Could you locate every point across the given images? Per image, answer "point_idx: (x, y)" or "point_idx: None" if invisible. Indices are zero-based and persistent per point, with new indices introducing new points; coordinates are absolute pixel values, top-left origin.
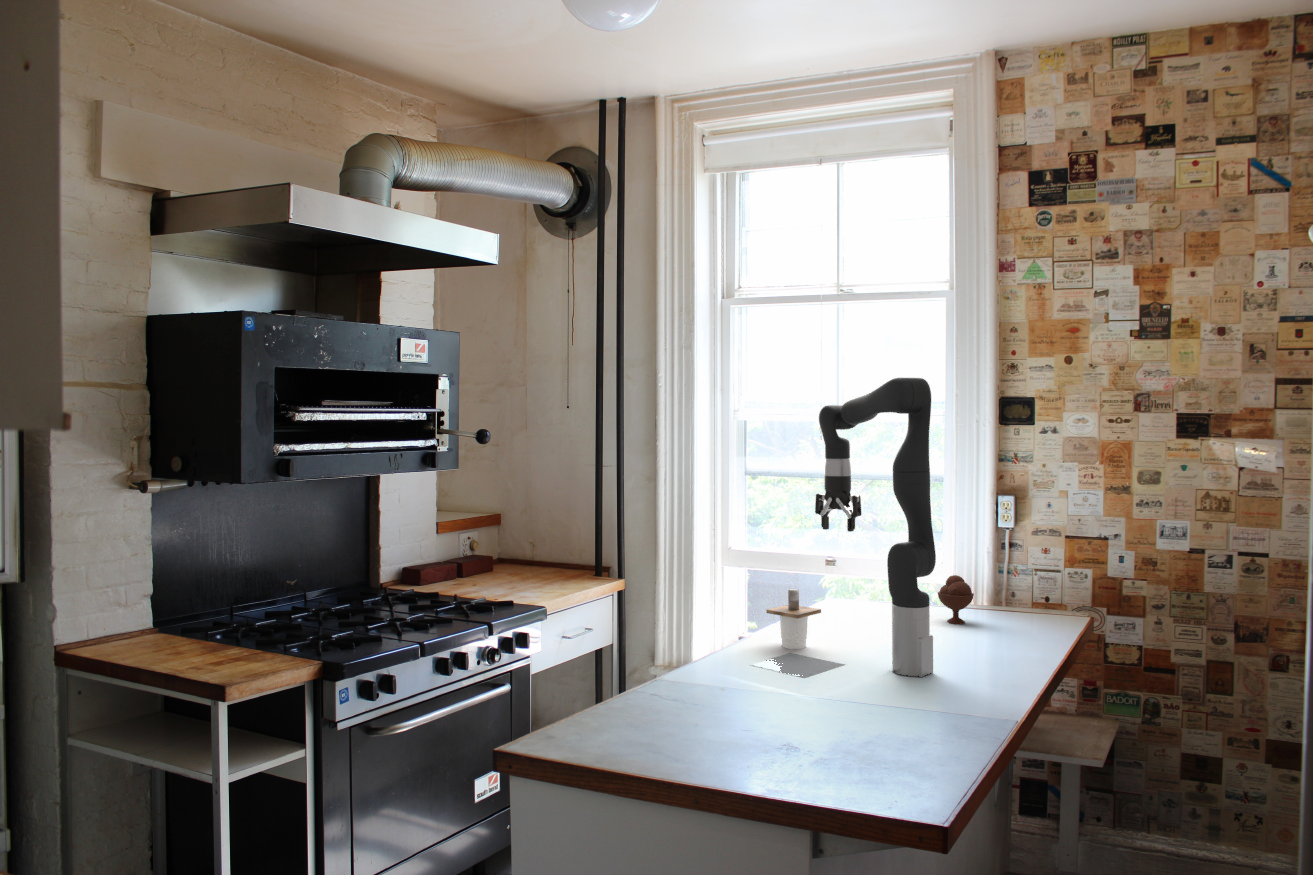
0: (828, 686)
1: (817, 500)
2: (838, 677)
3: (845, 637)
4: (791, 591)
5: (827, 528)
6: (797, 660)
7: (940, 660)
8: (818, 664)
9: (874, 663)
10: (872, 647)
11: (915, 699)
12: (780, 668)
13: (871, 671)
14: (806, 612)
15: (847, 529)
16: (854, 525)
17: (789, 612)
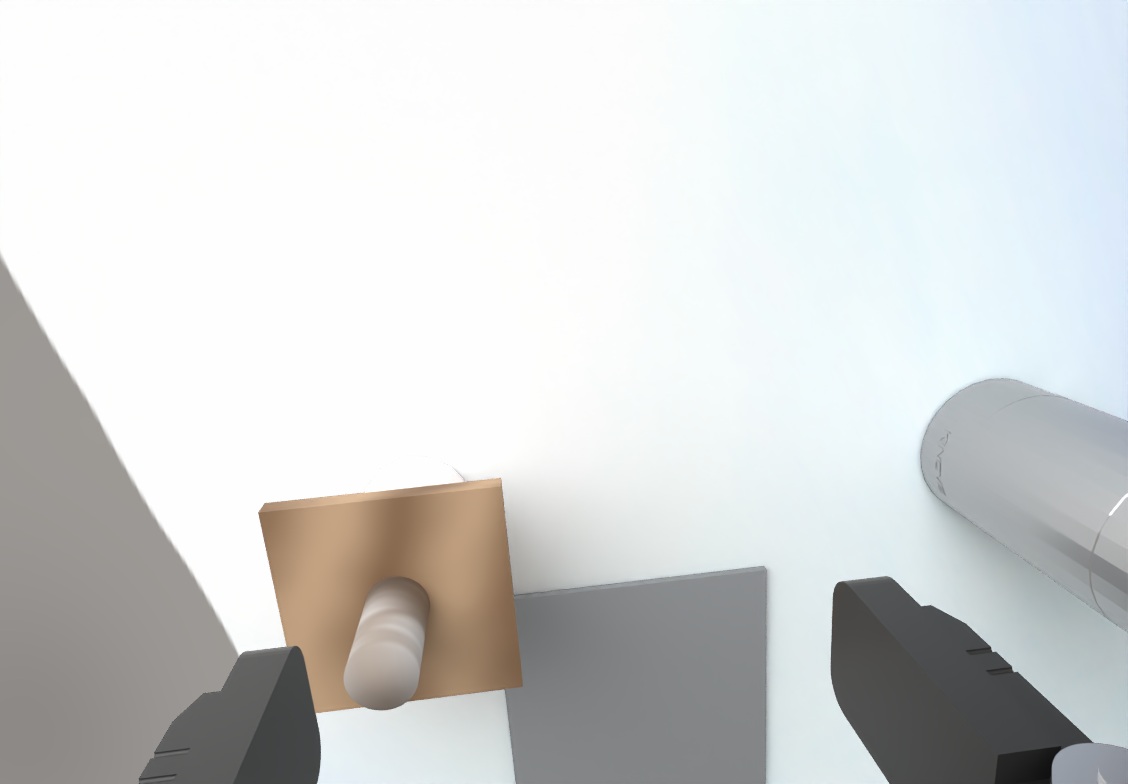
0: (859, 773)
1: None
2: (826, 684)
3: (431, 150)
4: (395, 704)
5: (303, 684)
6: (599, 661)
7: (1004, 197)
8: (692, 642)
9: (820, 450)
10: (660, 227)
11: (1123, 680)
12: (631, 772)
13: (871, 547)
14: (508, 609)
15: (848, 720)
16: (991, 670)
17: (445, 675)
